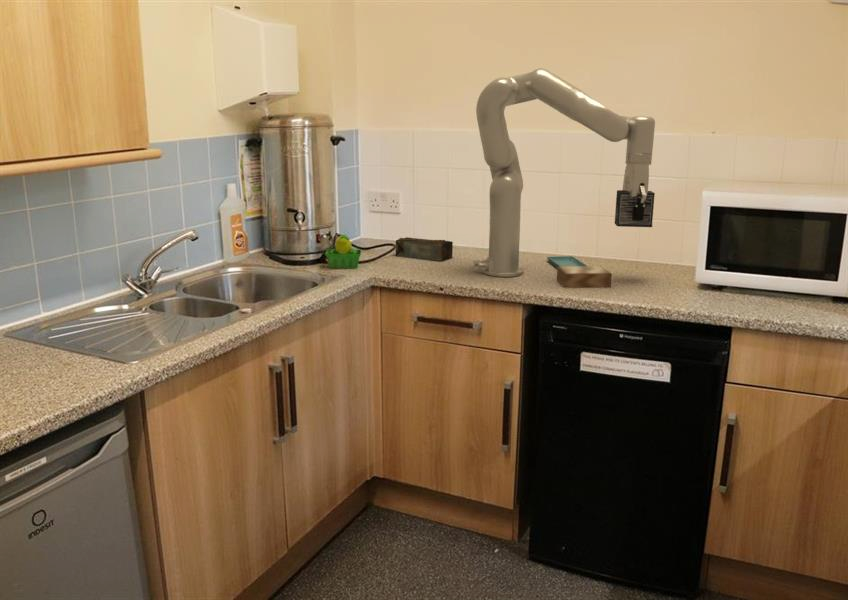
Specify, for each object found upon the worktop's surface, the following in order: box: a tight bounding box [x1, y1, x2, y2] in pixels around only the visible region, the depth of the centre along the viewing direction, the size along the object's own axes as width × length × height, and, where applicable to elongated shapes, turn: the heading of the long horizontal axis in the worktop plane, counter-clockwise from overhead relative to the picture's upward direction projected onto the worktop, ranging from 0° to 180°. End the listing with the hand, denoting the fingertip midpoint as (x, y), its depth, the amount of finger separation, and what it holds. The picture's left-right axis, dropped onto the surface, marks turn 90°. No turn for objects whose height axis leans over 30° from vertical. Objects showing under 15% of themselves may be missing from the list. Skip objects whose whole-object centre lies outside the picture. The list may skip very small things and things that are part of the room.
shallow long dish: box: [546, 255, 588, 269], centre depth 259 cm, size 26×9×2 cm, turn 7°
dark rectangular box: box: [395, 236, 454, 262], centre depth 276 cm, size 8×19×7 cm, turn 61°
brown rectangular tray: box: [556, 265, 613, 288], centre depth 239 cm, size 14×10×4 cm
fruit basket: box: [325, 233, 362, 269], centre depth 259 cm, size 11×9×11 cm
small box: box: [614, 189, 655, 228], centre depth 240 cm, size 11×6×10 cm, turn 85°
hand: (633, 217), depth 241 cm, fingers closed on small box, 6 cm apart
